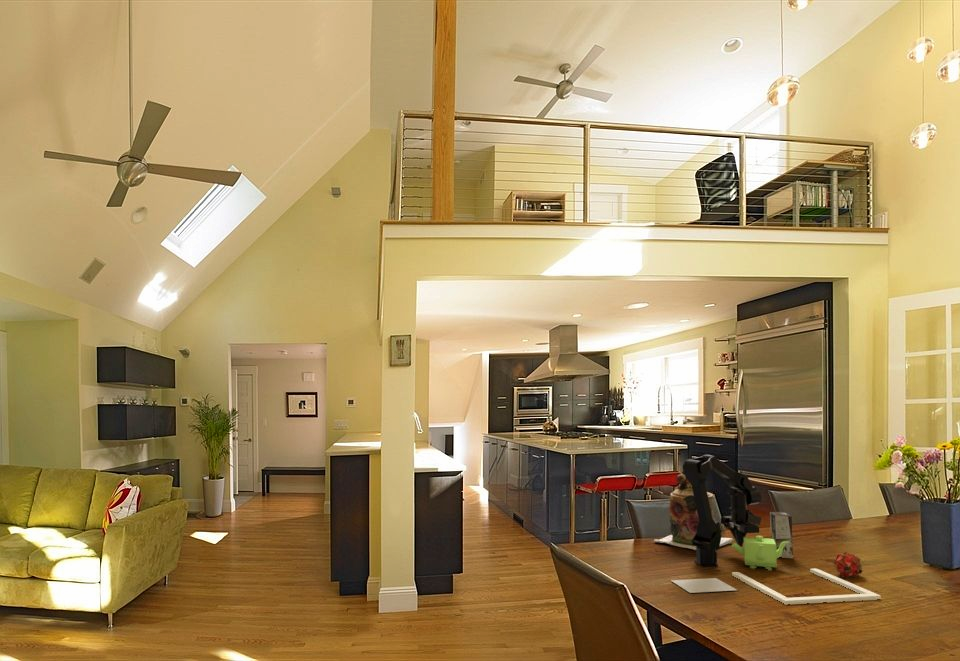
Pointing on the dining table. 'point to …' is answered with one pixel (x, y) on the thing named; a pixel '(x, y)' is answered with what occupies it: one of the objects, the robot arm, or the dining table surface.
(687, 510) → the cookie jar
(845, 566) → the dragon fruit
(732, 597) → the dining table surface
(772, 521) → the coffee box
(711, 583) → the paper stack
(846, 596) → the kettle dock outline
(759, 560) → the kettle
